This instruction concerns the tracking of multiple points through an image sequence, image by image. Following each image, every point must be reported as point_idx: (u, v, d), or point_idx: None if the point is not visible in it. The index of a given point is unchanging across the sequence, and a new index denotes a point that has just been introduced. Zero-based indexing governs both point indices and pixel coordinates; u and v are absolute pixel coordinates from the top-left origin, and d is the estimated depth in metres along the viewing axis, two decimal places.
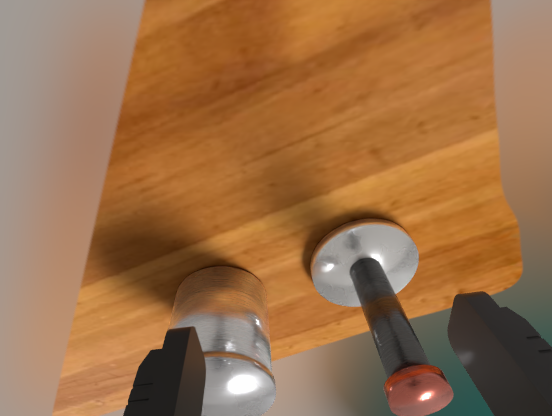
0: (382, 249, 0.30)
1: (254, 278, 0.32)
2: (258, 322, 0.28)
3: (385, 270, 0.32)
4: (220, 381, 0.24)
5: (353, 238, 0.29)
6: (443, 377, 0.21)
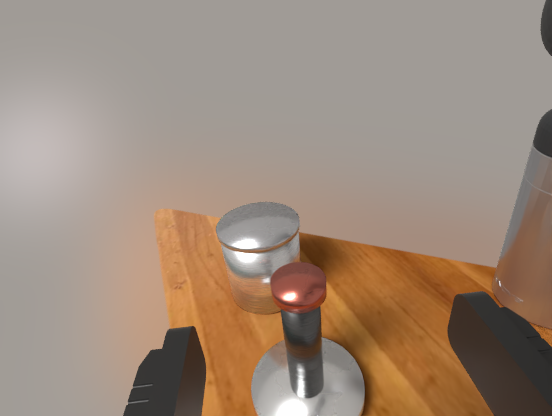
0: (335, 393, 0.29)
1: None
2: None
3: (305, 404, 0.28)
4: (276, 224, 0.37)
5: (346, 363, 0.31)
6: (320, 298, 0.23)
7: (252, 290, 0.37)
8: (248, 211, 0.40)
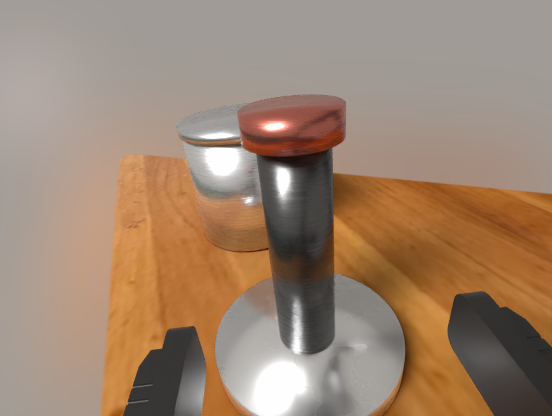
0: (355, 347, 0.17)
1: None
2: None
3: (305, 363, 0.17)
4: None
5: (370, 304, 0.19)
6: (336, 128, 0.11)
7: (227, 212, 0.26)
8: (226, 110, 0.29)
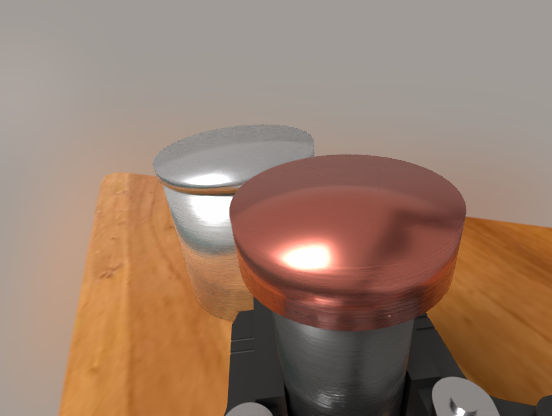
0: None
1: None
2: None
3: None
4: (269, 148, 0.19)
5: None
6: (451, 261, 0.05)
7: (222, 276, 0.19)
8: (220, 135, 0.22)
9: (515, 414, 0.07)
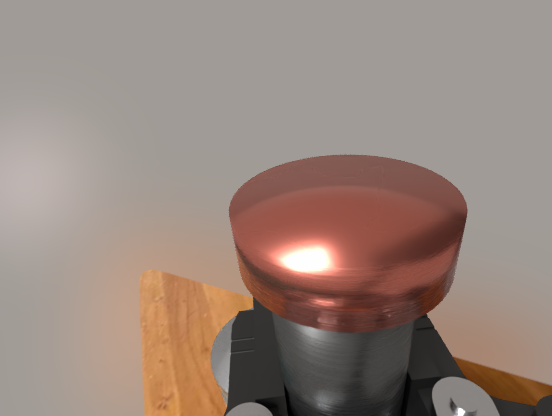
0: None
1: None
2: None
3: None
4: None
5: None
6: (453, 262, 0.05)
7: None
8: None
9: (515, 414, 0.07)
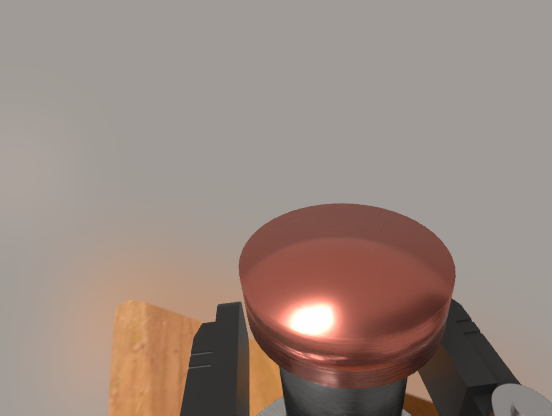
0: None
1: None
2: None
3: None
4: None
5: None
6: (442, 323, 0.06)
7: None
8: None
9: None
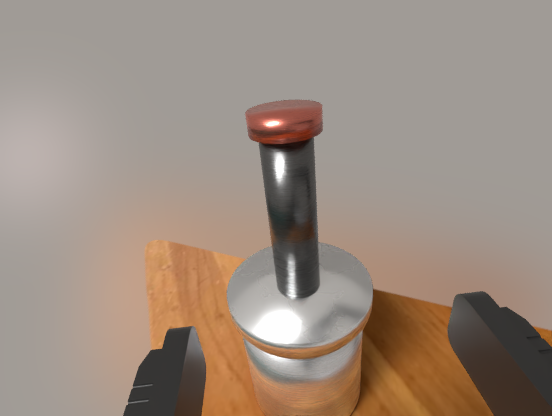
0: (334, 293, 0.22)
1: (348, 415, 0.26)
2: (346, 377, 0.23)
3: (296, 304, 0.22)
4: None
5: (348, 264, 0.25)
6: (314, 124, 0.17)
7: (291, 405, 0.23)
8: None
9: None
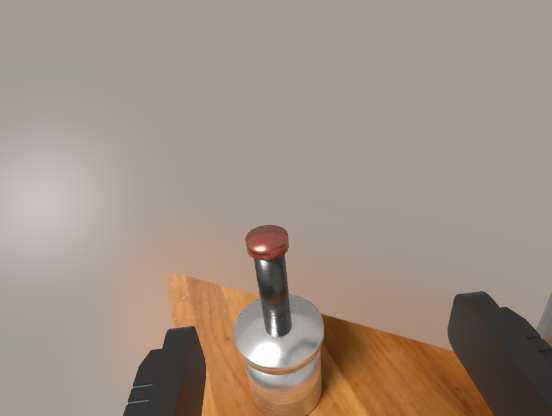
0: (300, 333, 0.36)
1: (311, 409, 0.39)
2: (307, 385, 0.37)
3: (276, 340, 0.36)
4: None
5: (311, 312, 0.38)
6: (282, 249, 0.30)
7: (273, 402, 0.37)
8: None
9: None
